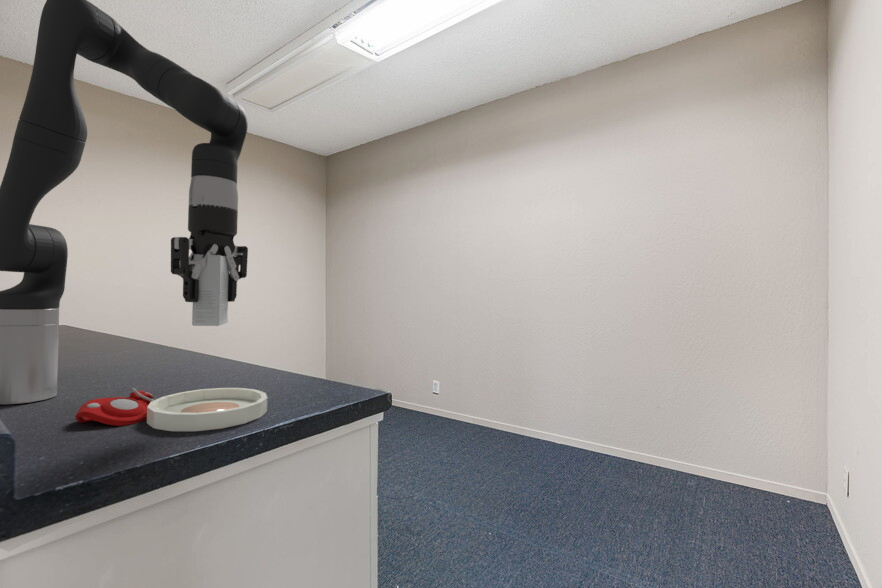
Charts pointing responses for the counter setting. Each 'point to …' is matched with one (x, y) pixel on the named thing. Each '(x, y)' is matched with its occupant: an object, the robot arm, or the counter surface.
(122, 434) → the counter surface
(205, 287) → the skincare box
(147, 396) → the tracker holder
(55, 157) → the robot arm
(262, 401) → the round dish
